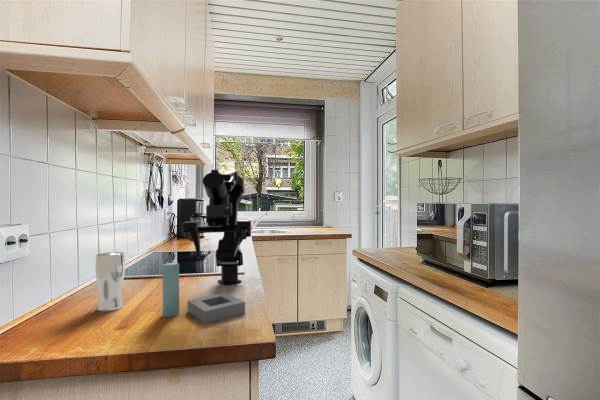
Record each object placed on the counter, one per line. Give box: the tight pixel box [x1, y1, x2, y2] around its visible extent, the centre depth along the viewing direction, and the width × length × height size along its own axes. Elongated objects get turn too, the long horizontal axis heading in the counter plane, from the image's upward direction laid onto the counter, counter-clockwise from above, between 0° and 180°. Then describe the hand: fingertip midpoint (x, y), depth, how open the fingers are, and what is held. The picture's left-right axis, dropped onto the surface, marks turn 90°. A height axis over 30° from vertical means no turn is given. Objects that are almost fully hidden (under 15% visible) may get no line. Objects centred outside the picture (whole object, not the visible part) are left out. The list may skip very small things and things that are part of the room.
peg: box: [162, 262, 180, 318], centre depth 83 cm, size 4×4×13 cm
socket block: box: [187, 292, 246, 325], centre depth 84 cm, size 11×11×3 cm
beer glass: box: [95, 251, 126, 313], centre depth 88 cm, size 7×7×15 cm
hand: (216, 257), depth 86 cm, fingers open, 9 cm apart
